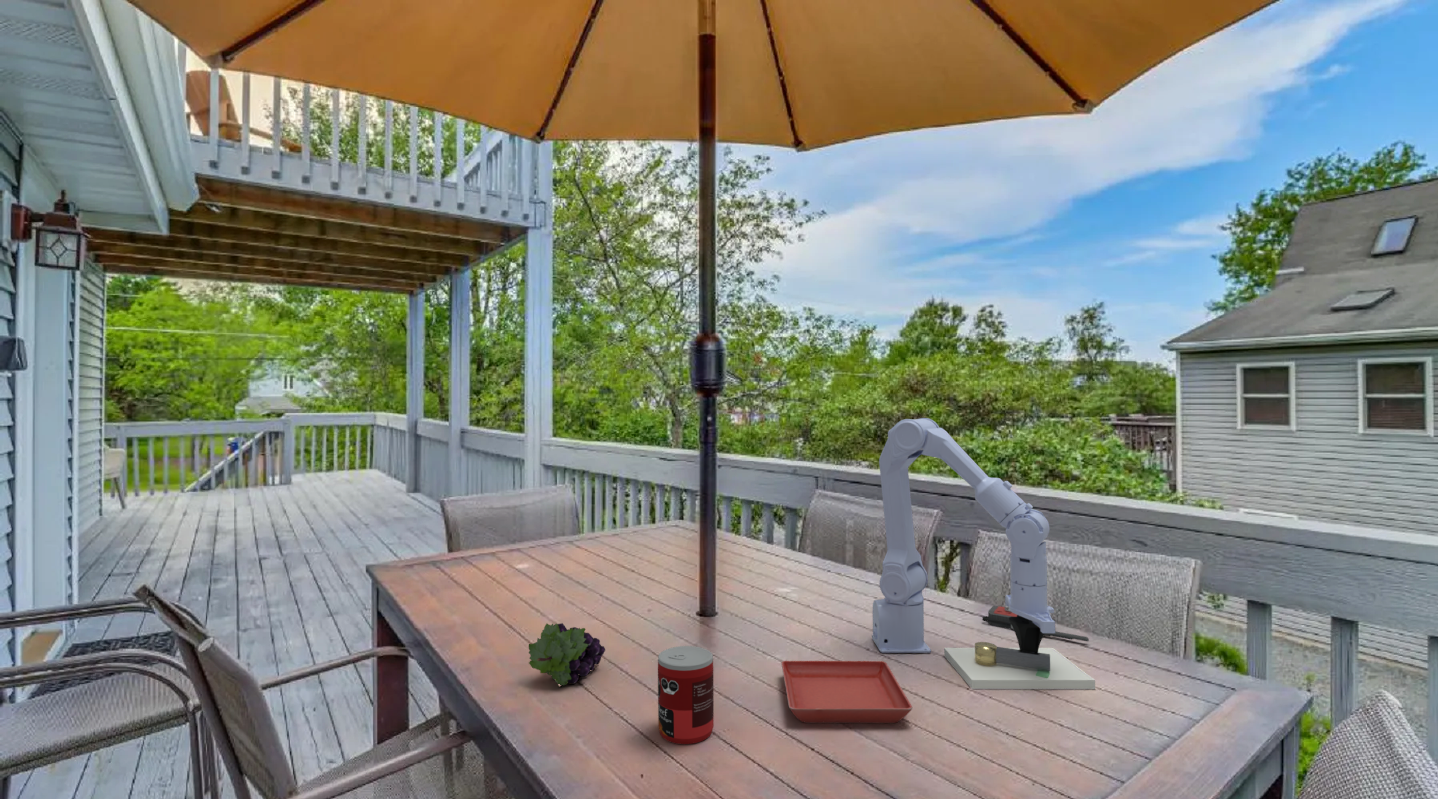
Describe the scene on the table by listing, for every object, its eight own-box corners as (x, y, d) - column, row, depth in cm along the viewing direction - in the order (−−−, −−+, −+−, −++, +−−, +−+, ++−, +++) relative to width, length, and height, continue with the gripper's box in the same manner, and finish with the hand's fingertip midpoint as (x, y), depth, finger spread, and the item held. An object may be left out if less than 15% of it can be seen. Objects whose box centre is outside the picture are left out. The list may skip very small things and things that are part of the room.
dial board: (971, 689, 107) (971, 678, 107) (944, 655, 121) (944, 646, 121) (1095, 689, 106) (1095, 678, 106) (1053, 655, 120) (1052, 646, 120)
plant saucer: (780, 678, 113) (780, 659, 113) (885, 678, 112) (885, 659, 112) (789, 731, 94) (789, 708, 94) (914, 732, 94) (914, 709, 94)
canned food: (658, 720, 97) (657, 646, 97) (711, 717, 98) (711, 644, 98) (657, 747, 90) (657, 667, 90) (715, 744, 90) (715, 664, 90)
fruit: (608, 686, 116) (556, 699, 103) (563, 666, 121) (507, 676, 108) (624, 628, 118) (574, 634, 104) (579, 611, 122) (526, 614, 109)
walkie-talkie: (979, 628, 137) (1088, 648, 125) (978, 607, 137) (1087, 625, 125) (989, 616, 144) (1093, 635, 132) (989, 596, 144) (1093, 613, 132)
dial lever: (974, 663, 113) (973, 647, 113) (975, 655, 116) (975, 640, 116) (1050, 675, 108) (1050, 658, 108) (1049, 667, 111) (1049, 651, 111)
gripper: (1074, 594, 105) (1074, 678, 105) (1032, 570, 120) (1032, 644, 120) (1029, 594, 105) (1030, 678, 105) (993, 570, 120) (994, 644, 120)
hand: (1028, 660), depth 112 cm, fingers closed
